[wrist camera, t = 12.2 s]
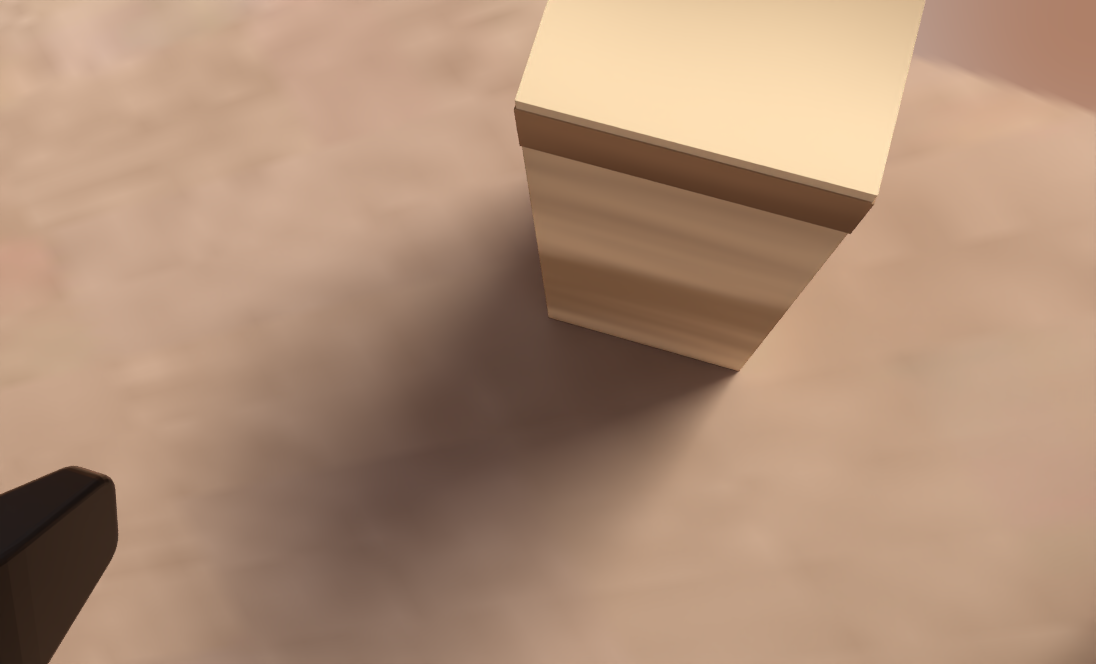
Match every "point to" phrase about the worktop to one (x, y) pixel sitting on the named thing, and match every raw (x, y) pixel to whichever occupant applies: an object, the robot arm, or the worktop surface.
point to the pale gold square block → (704, 157)
